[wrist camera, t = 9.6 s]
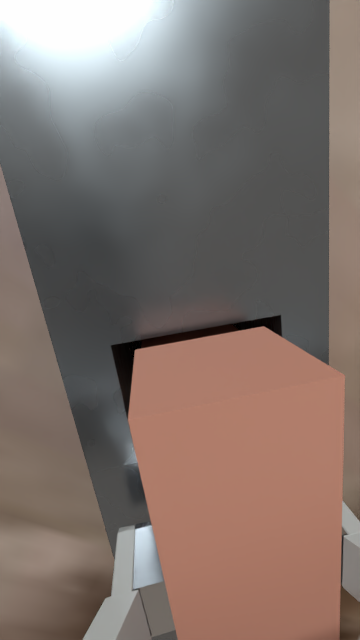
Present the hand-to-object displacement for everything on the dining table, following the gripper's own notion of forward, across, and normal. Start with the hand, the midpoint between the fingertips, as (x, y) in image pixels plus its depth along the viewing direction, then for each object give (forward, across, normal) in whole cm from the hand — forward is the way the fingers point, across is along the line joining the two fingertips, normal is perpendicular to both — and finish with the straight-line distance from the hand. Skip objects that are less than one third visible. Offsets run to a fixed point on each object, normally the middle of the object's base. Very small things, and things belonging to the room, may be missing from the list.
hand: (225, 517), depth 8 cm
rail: (+5, 0, 0) cm, 5 cm away
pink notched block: (+4, 0, 0) cm, 4 cm away
